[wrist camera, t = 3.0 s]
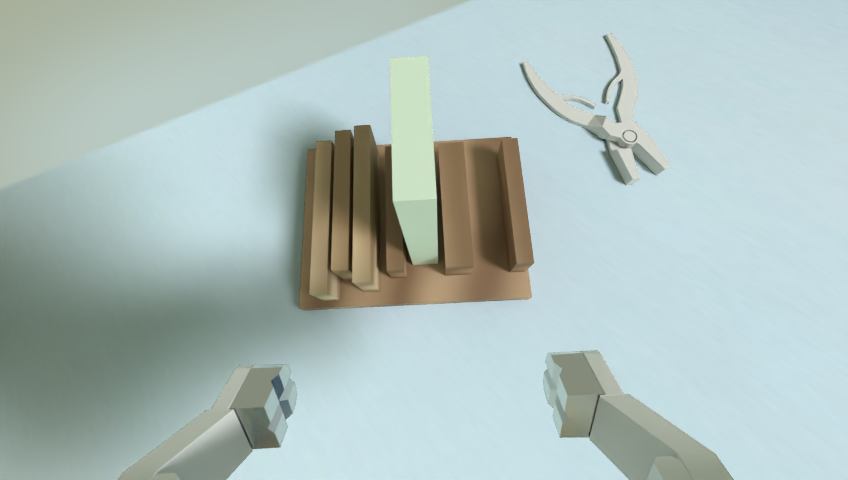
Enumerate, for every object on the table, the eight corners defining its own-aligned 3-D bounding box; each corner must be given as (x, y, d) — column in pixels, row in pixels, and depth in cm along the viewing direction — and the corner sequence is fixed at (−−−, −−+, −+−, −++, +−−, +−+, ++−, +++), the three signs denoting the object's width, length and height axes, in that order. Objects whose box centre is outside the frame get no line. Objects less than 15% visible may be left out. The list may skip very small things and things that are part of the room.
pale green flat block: (412, 265, 29) (392, 201, 17) (409, 173, 31) (389, 58, 19) (438, 263, 29) (436, 198, 16) (432, 172, 31) (428, 55, 19)
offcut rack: (304, 310, 30) (273, 301, 24) (312, 156, 34) (287, 118, 28) (528, 299, 29) (548, 287, 24) (508, 144, 33) (522, 103, 28)
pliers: (617, 24, 35) (705, 154, 31) (610, 38, 36) (692, 163, 32) (522, 56, 34) (599, 192, 30) (519, 68, 36) (591, 200, 32)
